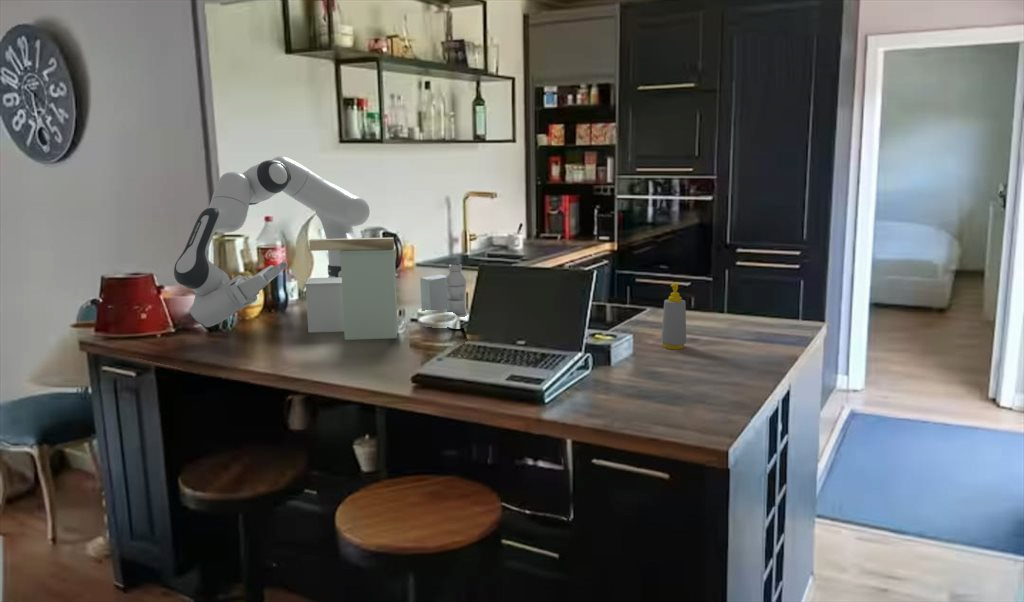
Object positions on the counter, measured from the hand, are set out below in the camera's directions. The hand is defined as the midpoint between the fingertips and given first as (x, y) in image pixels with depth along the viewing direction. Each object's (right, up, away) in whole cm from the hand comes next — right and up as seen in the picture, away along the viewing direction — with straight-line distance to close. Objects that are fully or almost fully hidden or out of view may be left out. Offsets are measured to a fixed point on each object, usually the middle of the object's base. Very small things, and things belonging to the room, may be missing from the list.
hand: (283, 265), depth 232 cm
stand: (+24, -20, +7) cm, 33 cm away
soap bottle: (+111, -23, -10) cm, 114 cm away
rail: (+20, +5, +1) cm, 20 cm away
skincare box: (+42, -17, +24) cm, 51 cm away
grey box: (+10, -19, +17) cm, 27 cm away
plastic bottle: (+49, -19, +14) cm, 55 cm away
